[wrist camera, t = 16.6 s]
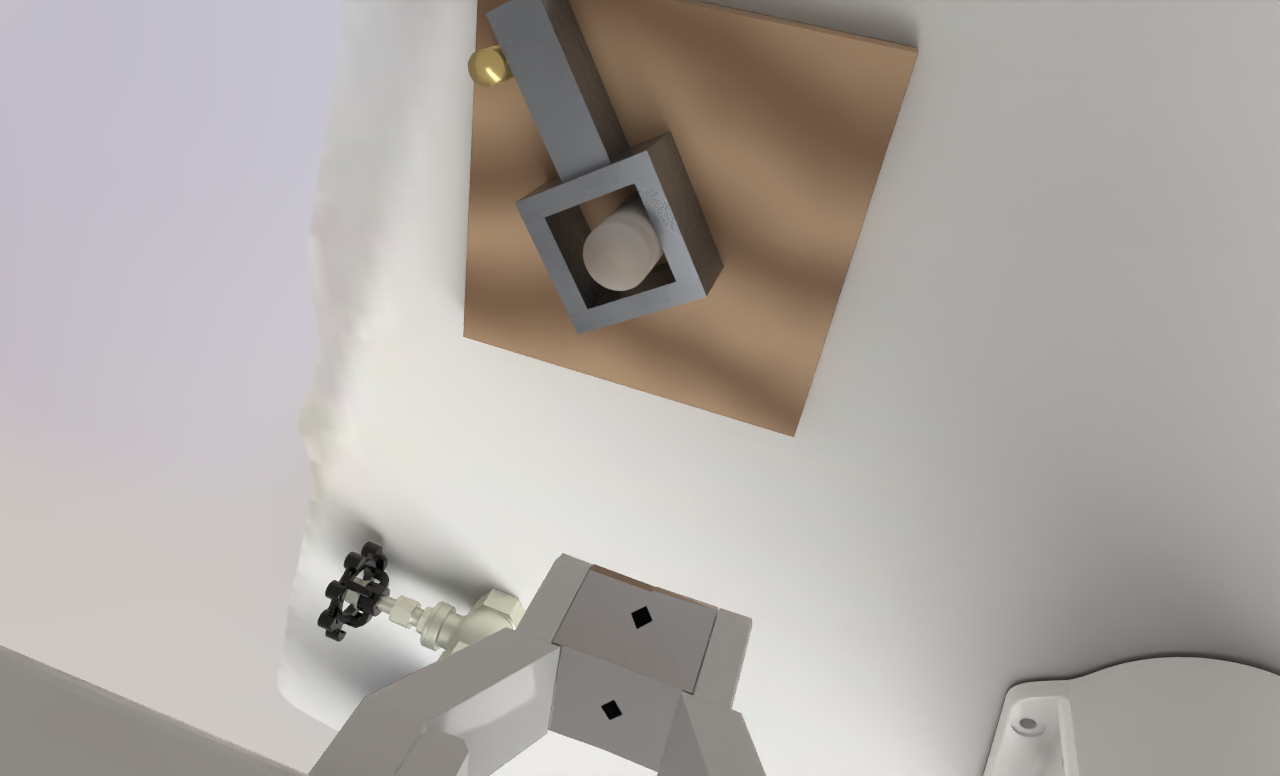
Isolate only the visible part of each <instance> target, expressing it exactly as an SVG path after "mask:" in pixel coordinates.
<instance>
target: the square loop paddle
mask: <svg viewBox="0 0 1280 776" xmlns="http://www.w3.org/2000/svg"><path fill="white" fill-rule="evenodd" d="M486 16H487V18H488V20H489V23H490V25H491V27H492V29H493V31H494V34H495V36H496V38H497V40H498V42H499V45H500V47H501V49H502V51H503V53H504V56H505V58H506V60H507V62H508V64H509V67H510V69H511V71H512V73H513V75H514V78H515V80H516V82H517V84H518V86H519V89H520V91H521V93H522V95H523V97H524V100H525V102H526V104H527V106H528V108H529V111H530V113H531V115H532V117H533V119H534V122H535V124H536V126H537V128H538V130H539V133H540V135H541V137H542V139H543V141H544V144H545V146H546V148H547V150H548V152H549V155H550V157H551V159H552V161H553V163H554V166H555V168H556V170H557V172H558V174H559V176H558V177H555V178H553V179H550V180H548V181H546V182H545V183H543V184H542V185H540V186H539V187H537V188H536V189H534V190H533V191H532V192H530V193H529V194H527V195H526V196H524V197H523V198H521V199H520V200H519V201H517V202H516V203H515V205H516V207H517V209H518V211H519V213H520V215H521V217H522V219H523V221H524V223H525V225H526V228H527V230H528V232H529V234H530V236H531V238H532V240H533V242H534V244H535V246H536V248H537V250H538V252H539V255H540V257H541V259H542V261H543V263H544V265H545V267H546V269H547V271H548V273H549V275H550V277H551V279H552V282H553V284H554V286H555V288H556V290H557V292H558V294H559V296H560V298H561V300H562V302H563V304H564V306H565V309H566V311H567V313H568V315H569V317H570V319H571V321H572V323H573V325H574V327H575V329H576V331H577V334H578V335H579V334H583V333H586V332H589V331H593V330H596V329H600V328H603V327H606V326H610V325H613V324H616V323H620V322H623V321H626V320H630V319H633V318H637V317H640V316H643V315H647V314H650V313H653V312H657V311H660V310H664V309H667V308H670V307H674V306H677V305H680V304H684V303H687V302H691V301H694V300H697V299H701V298H704V297H707V295H708V294H709V292H710V290H711V288H712V287H713V285H714V283H715V282H716V280H717V278H718V276H719V275H720V273H721V271H722V270H723V268H724V265H723V262H722V260H721V257H720V255H719V252H718V250H717V247H716V245H715V242H714V240H713V237H712V235H711V232H710V229H709V227H708V224H707V222H706V219H705V217H704V214H703V212H702V209H701V207H700V204H699V202H698V199H697V197H696V194H695V191H694V189H693V186H692V184H691V181H690V179H689V176H688V174H687V171H686V169H685V166H684V164H683V161H682V158H681V156H680V153H679V151H678V148H677V146H676V143H675V141H674V138H673V136H672V133H671V131H669V132H666V133H664V134H662V135H659V136H657V137H654V138H652V139H649V140H647V141H644V142H642V143H639V144H637V145H634V146H632V147H629V144H628V142H627V139H626V137H625V135H624V132H623V130H622V127H621V125H620V122H619V120H618V118H617V115H616V113H615V110H614V108H613V106H612V103H611V101H610V98H609V96H608V94H607V91H606V89H605V86H604V84H603V82H602V79H601V77H600V74H599V72H598V70H597V67H596V65H595V62H594V60H593V58H592V55H591V53H590V50H589V48H588V46H587V43H586V41H585V38H584V36H583V34H582V31H581V29H580V26H579V24H578V22H577V19H576V17H575V14H574V12H573V10H572V7H571V5H570V2H569V0H510V1H508V2H506V3H505V4H503V5H501V6H499V7H497V8H495V9H493V10H492V11H490V12H488V13H486ZM634 183H635V185H636V187H637V190H638V192H639V194H640V197H641V199H642V202H643V204H644V206H645V209H646V211H647V213H648V216H649V218H650V221H651V223H652V225H653V228H654V230H655V232H656V235H657V237H658V240H659V242H660V244H661V247H662V249H663V251H664V254H665V256H666V259H667V261H668V262H667V263H664V264H661V265H658V266H655V267H653V268H652V269H651V271H650V272H649V273H648V274H647V276H646V277H645V278H644V279H643V281H642V282H641V283H640V284H639V285H637V286H636V287H634V288H632V289H629V290H624V291H616V290H611V289H608V288H606V287H604V286H602V285H600V284H599V283H598V282H596V281H595V280H594V279H593V278H592V276H591V275H590V274H589V272H588V271H587V269H586V266H585V263H584V259H583V248H584V244H585V241H586V239H587V237H588V236H589V234H590V233H591V230H590V228H589V226H588V223H587V221H586V219H585V217H584V215H583V212H582V210H581V208H580V206H579V204H581V203H584V202H586V201H589V200H592V199H594V198H597V197H600V196H602V195H605V194H607V193H610V192H613V191H615V190H618V189H621V188H623V187H626V186H628V185H631V184H634Z"/></svg>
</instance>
